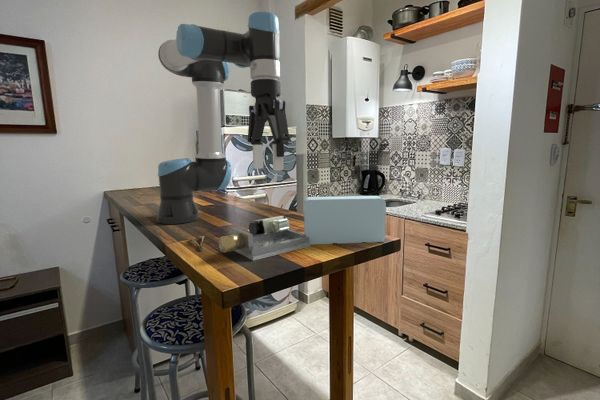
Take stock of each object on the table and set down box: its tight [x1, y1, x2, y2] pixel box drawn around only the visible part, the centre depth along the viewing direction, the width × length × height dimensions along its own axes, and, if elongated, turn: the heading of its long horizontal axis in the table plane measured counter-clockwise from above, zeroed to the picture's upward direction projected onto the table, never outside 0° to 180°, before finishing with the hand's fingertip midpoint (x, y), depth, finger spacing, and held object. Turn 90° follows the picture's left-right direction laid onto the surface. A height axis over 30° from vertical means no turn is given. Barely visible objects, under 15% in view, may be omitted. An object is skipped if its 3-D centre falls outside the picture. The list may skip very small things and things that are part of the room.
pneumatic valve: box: [248, 215, 291, 235], centre depth 99 cm, size 6×12×12 cm
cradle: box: [218, 227, 311, 261], centre depth 88 cm, size 23×13×6 cm, turn 128°
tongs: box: [189, 235, 205, 253], centre depth 93 cm, size 4×13×2 cm, turn 27°
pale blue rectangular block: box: [303, 195, 387, 245], centre depth 94 cm, size 23×6×13 cm, turn 92°
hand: (268, 169), depth 87 cm, fingers open, 9 cm apart
